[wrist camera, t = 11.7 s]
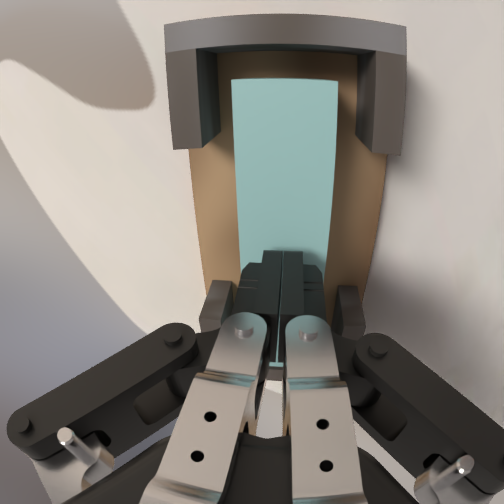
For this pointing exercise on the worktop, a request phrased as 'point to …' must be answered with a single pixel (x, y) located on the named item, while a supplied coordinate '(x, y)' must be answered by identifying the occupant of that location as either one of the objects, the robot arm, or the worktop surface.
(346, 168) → the endcap board
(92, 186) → the worktop surface
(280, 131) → the teal rectangular block
